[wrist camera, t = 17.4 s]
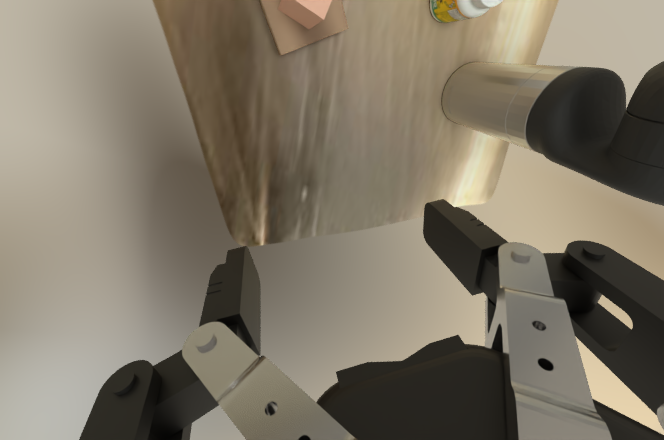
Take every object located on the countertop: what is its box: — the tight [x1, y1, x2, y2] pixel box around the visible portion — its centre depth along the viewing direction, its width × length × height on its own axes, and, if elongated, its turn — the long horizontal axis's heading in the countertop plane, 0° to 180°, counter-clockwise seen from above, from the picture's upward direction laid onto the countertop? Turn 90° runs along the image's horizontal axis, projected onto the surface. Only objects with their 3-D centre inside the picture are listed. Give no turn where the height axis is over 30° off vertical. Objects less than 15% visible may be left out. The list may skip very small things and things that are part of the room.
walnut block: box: [259, 0, 348, 55], centre depth 33 cm, size 9×9×4 cm
